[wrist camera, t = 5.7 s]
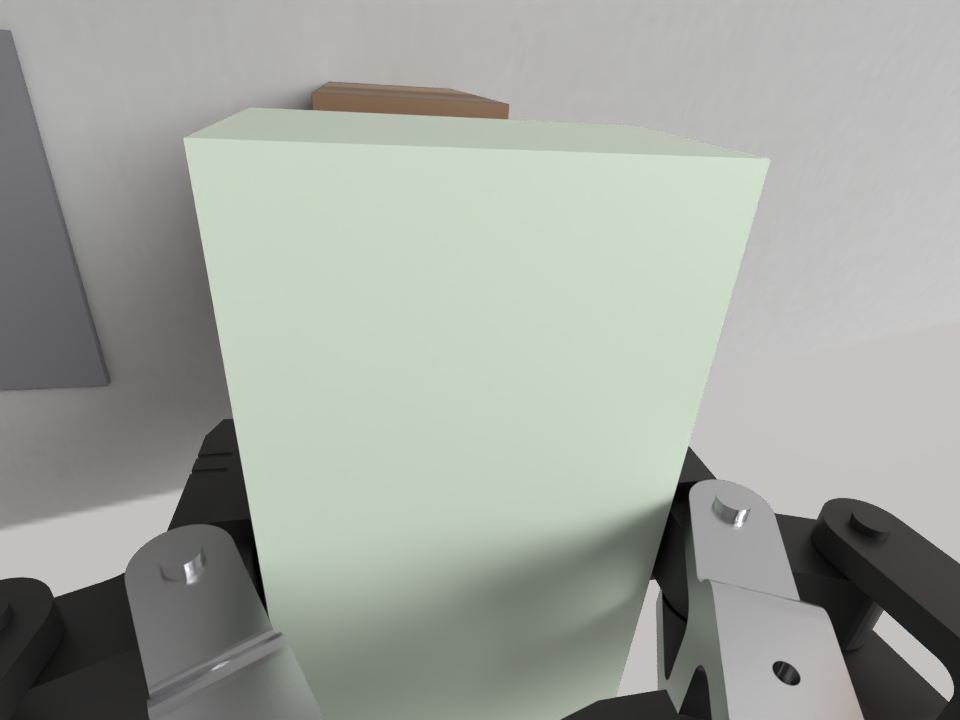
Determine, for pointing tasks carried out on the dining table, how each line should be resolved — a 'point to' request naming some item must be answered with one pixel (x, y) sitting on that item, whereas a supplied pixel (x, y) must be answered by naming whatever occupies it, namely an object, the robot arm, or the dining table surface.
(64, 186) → the dining table surface
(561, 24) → the dining table surface
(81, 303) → the mat
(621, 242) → the pale green block
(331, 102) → the box
